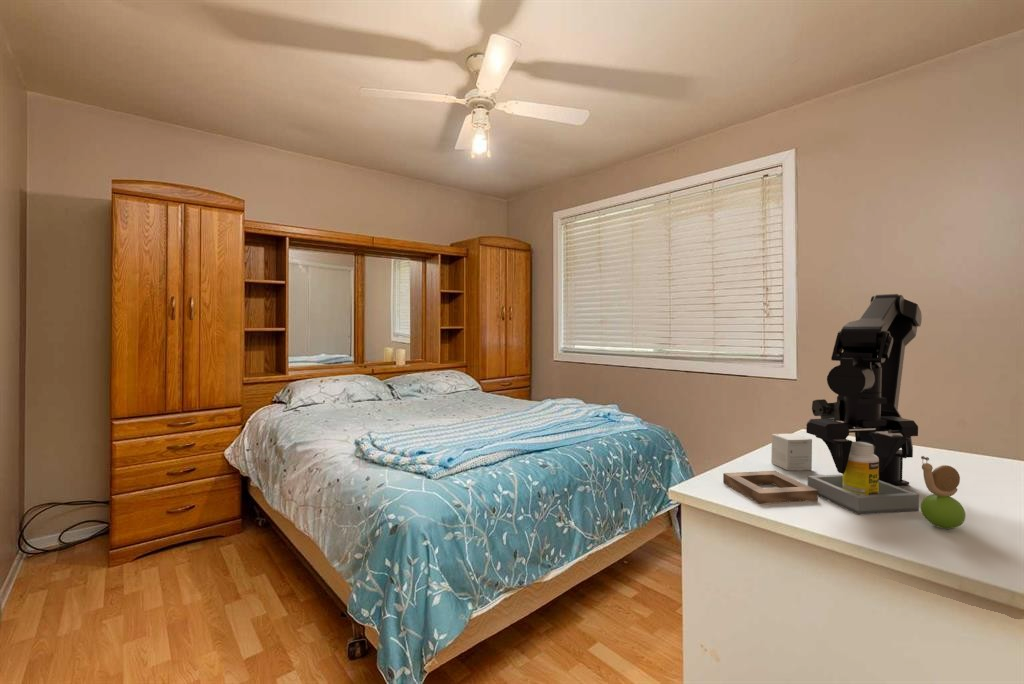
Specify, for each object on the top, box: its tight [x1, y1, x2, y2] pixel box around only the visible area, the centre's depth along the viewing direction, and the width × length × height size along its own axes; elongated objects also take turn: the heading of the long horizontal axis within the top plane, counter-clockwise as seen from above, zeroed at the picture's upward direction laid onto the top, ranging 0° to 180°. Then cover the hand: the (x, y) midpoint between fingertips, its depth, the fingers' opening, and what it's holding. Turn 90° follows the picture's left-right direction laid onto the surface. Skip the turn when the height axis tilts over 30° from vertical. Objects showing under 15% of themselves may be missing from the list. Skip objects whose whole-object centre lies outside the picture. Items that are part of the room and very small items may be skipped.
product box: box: [770, 433, 813, 472], centre depth 110 cm, size 6×6×7 cm
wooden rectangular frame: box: [722, 470, 819, 505], centre depth 94 cm, size 12×12×2 cm
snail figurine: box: [920, 455, 966, 530], centre depth 76 cm, size 5×6×12 cm
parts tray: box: [807, 473, 920, 516], centre depth 89 cm, size 12×12×3 cm
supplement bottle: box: [843, 441, 879, 496], centre depth 88 cm, size 6×6×10 cm
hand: (860, 471), depth 88 cm, fingers open, 8 cm apart
